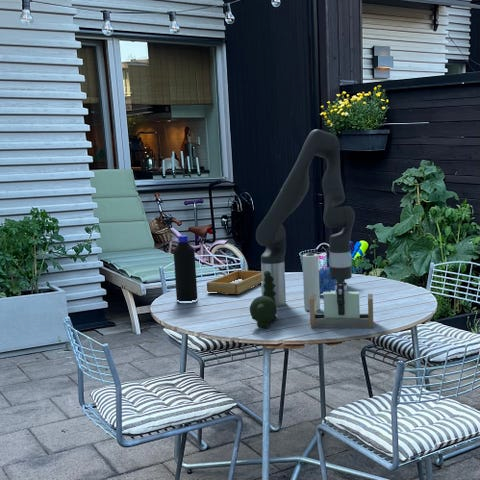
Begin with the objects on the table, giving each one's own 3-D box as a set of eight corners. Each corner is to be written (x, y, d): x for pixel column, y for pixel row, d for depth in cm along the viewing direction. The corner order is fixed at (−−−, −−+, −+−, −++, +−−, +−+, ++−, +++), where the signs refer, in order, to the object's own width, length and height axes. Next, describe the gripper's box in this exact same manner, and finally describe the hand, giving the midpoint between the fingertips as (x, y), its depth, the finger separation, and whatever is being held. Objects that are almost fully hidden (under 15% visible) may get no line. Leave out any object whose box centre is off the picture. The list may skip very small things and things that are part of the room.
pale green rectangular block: (324, 319, 215) (323, 294, 214) (325, 316, 218) (324, 291, 217) (359, 319, 213) (359, 293, 211) (359, 316, 216) (359, 291, 215)
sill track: (310, 327, 214) (309, 299, 213) (312, 321, 222) (311, 294, 220) (373, 328, 210) (372, 299, 208) (373, 321, 217) (372, 293, 216)
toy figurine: (258, 319, 235) (246, 332, 211) (256, 269, 234) (244, 276, 210) (283, 319, 234) (274, 332, 209) (281, 269, 233) (272, 276, 208)
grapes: (341, 292, 264) (340, 265, 262) (340, 296, 257) (339, 268, 256) (313, 292, 266) (312, 265, 265) (312, 296, 260) (311, 268, 258)
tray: (237, 280, 302) (237, 269, 302) (266, 282, 296) (265, 270, 295) (207, 294, 275) (206, 282, 274) (237, 296, 269) (237, 284, 268)
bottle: (194, 304, 258) (190, 237, 254) (174, 304, 260) (169, 237, 256) (200, 299, 266) (196, 234, 262) (180, 299, 268) (176, 234, 264)
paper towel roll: (318, 311, 235) (316, 255, 232) (302, 311, 237) (300, 255, 234) (322, 307, 242) (320, 252, 239) (307, 306, 244) (305, 252, 241)
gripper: (350, 268, 205) (352, 318, 208) (351, 260, 219) (353, 308, 221) (328, 268, 207) (329, 318, 209) (330, 261, 220) (331, 308, 223)
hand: (341, 313), depth 215 cm, fingers closed on pale green rectangular block, 3 cm apart
